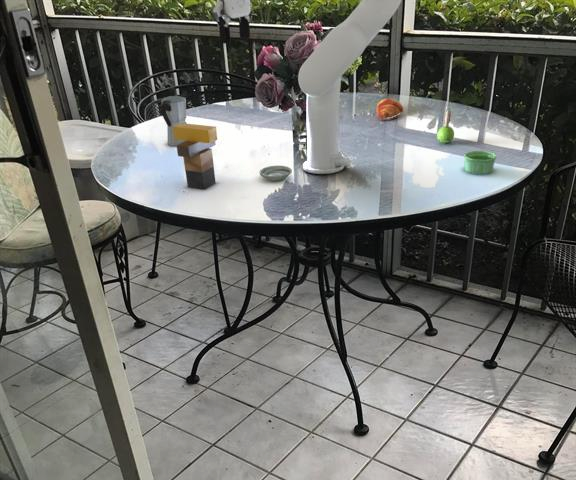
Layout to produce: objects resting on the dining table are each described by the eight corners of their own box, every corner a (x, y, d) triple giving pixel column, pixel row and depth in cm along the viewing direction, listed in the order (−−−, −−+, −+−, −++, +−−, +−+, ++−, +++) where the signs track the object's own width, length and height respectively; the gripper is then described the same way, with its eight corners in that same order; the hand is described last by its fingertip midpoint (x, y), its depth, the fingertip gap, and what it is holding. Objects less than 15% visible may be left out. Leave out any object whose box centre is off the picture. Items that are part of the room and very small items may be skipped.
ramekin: (481, 163, 185) (484, 148, 182) (500, 172, 178) (503, 157, 175) (456, 168, 182) (458, 153, 180) (474, 177, 175) (476, 161, 173)
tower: (215, 183, 181) (211, 148, 175) (204, 189, 177) (199, 154, 171) (199, 180, 184) (194, 146, 177) (187, 187, 179) (182, 152, 173)
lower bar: (204, 143, 180) (203, 132, 178) (215, 144, 178) (214, 134, 176) (178, 156, 171) (176, 145, 169) (189, 157, 169) (188, 146, 167)
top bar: (217, 139, 171) (215, 126, 169) (209, 143, 169) (207, 130, 167) (182, 135, 176) (181, 123, 174) (174, 139, 173) (172, 126, 171)
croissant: (388, 118, 245) (379, 98, 242) (411, 106, 239) (403, 86, 236) (374, 131, 229) (365, 110, 226) (398, 119, 223) (390, 97, 220)
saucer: (253, 179, 182) (252, 171, 181) (276, 171, 187) (276, 163, 186) (275, 186, 177) (275, 178, 175) (298, 177, 182) (298, 169, 180)
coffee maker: (177, 137, 223) (169, 83, 212) (198, 138, 221) (191, 84, 210) (157, 149, 212) (147, 93, 201) (179, 150, 209) (171, 94, 199)
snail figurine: (435, 146, 201) (439, 107, 194) (436, 140, 206) (440, 102, 199) (452, 146, 200) (457, 107, 193) (453, 141, 205) (457, 102, 197)
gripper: (222, -30, 156) (228, 46, 166) (259, -35, 167) (262, 36, 178) (199, -30, 159) (206, 44, 169) (236, -35, 171) (241, 35, 181)
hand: (235, 40), depth 173 cm, fingers open, 9 cm apart
